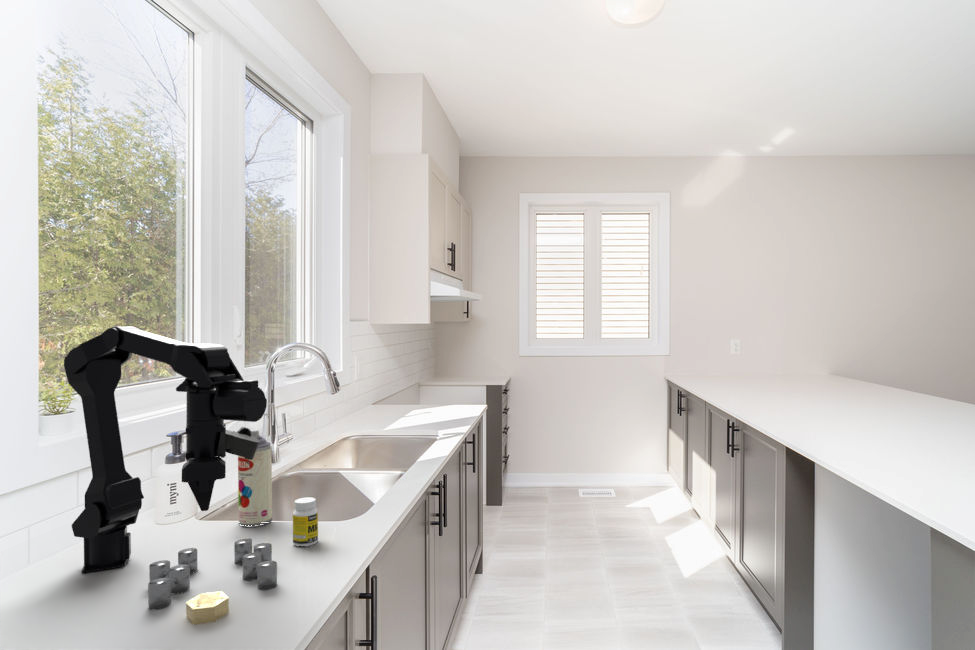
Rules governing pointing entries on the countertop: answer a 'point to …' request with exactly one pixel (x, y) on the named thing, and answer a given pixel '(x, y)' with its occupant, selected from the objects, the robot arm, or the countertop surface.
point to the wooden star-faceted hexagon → (207, 607)
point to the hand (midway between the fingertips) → (204, 510)
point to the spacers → (179, 576)
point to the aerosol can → (255, 485)
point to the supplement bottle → (305, 522)
